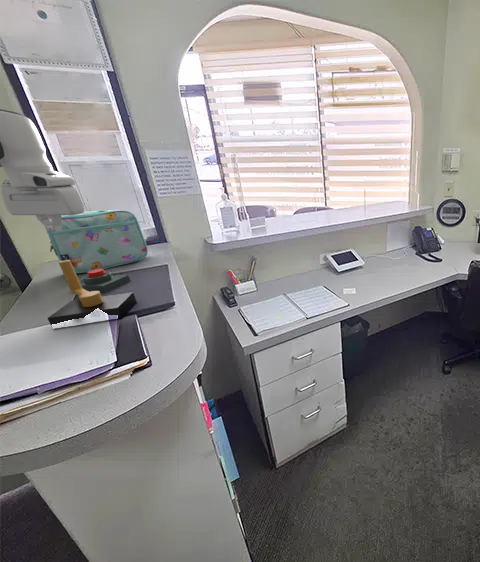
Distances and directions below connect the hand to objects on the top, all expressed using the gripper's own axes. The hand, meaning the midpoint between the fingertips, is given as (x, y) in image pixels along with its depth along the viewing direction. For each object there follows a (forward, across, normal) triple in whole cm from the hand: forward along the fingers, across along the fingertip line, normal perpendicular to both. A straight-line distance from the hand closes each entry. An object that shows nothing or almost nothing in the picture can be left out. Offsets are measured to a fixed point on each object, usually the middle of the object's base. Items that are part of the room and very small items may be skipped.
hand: (54, 231), depth 86 cm
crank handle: (+16, +16, -11) cm, 25 cm away
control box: (+19, +1, +6) cm, 20 cm away
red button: (+15, +1, +6) cm, 17 cm away
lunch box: (+19, -16, +25) cm, 35 cm away
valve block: (+19, +19, -12) cm, 30 cm away
